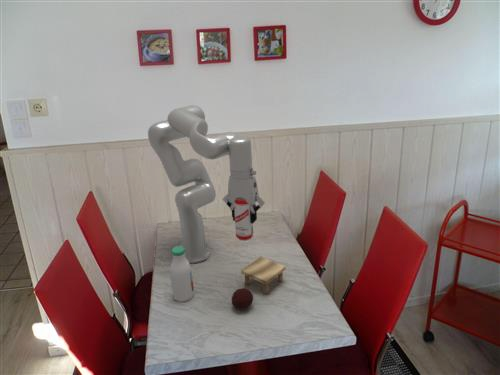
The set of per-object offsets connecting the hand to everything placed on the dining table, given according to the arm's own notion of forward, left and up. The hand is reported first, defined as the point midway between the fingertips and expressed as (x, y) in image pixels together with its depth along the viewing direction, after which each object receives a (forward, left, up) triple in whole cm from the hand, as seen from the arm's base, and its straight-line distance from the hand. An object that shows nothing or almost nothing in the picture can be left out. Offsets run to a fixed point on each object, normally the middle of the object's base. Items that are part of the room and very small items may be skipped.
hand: (244, 220), depth 146 cm
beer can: (0, 0, -7) cm, 7 cm away
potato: (+6, -11, -28) cm, 31 cm away
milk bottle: (-15, -19, -28) cm, 37 cm away
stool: (+4, +5, -28) cm, 29 cm away
